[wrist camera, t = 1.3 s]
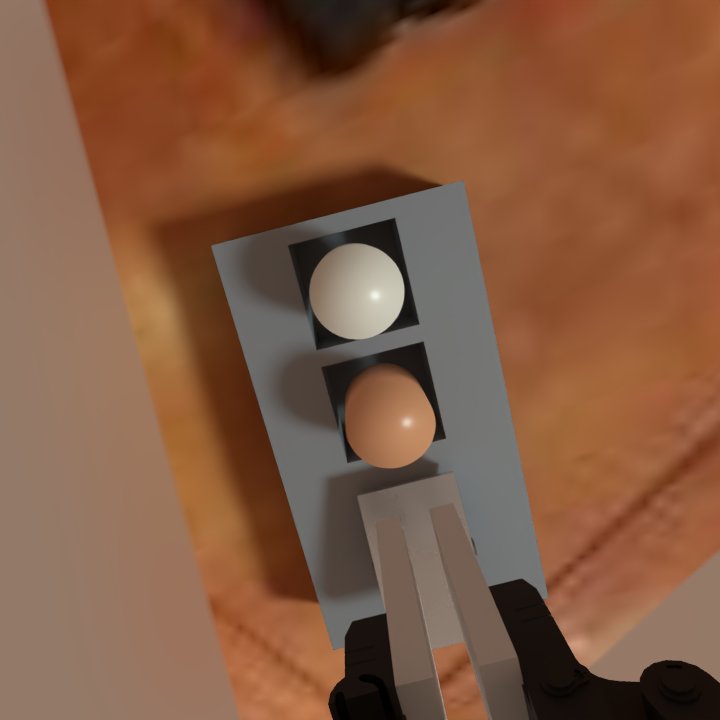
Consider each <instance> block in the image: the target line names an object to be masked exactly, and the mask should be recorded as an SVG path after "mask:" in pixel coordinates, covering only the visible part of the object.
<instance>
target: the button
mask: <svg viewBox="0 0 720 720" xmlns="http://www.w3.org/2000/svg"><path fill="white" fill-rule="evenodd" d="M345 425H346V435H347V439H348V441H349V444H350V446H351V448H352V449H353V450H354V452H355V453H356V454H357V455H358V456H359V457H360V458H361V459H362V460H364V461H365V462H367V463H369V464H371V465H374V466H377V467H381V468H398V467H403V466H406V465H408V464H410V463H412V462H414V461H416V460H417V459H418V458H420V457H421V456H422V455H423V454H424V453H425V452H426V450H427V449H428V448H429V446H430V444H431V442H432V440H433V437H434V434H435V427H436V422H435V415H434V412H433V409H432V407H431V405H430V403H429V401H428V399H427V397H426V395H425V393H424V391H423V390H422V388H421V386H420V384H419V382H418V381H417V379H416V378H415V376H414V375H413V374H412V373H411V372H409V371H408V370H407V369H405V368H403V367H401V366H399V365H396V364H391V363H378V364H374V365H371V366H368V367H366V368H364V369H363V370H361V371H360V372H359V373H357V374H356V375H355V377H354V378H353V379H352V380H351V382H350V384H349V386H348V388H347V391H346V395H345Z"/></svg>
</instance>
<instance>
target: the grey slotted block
mask: <svg viewBox="0 0 720 720" xmlns="http://www.w3.org/2000/svg"><path fill="white" fill-rule="evenodd" d="M348 243H361V244H366V245H369V246H372V247H374V248H377V249H379V250H381V251H382V252H384V253H385V254H387V255H388V256H389V257H390V258H391V259H392V260H393V261H394V263H395V264H396V265H397V267H398V269H399V271H400V273H401V275H402V279H403V283H404V301H403V305H402V308H401V311H400V313H399V315H398V317H397V318H396V319H395V321H394V322H393V323H392V324H391V325H390V326H389V327H388V328H387V329H386V330H385V331H383V332H381V333H380V334H378V335H376V336H373V337H370V338H366V339H348V338H343V337H340V336H338V335H336V334H334V333H332V332H331V331H329V330H328V329H327V328H325V327H324V326H323V325H322V324H321V322H320V321H319V320H318V318H317V317H316V315H315V313H314V311H313V309H312V306H311V302H310V295H309V289H310V282H311V278H312V275H313V273H314V270H315V268H316V267H317V265H318V264H319V262H320V261H321V260H322V259H323V258H324V256H325V255H326V254H327V253H329V252H330V251H331V250H333V249H334V248H336V247H338V246H341V245H344V244H348ZM211 247H212V251H213V254H214V257H215V261H216V264H217V267H218V271H219V274H220V277H221V280H222V284H223V287H224V290H225V294H226V297H227V300H228V304H229V307H230V310H231V314H232V317H233V320H234V323H235V327H236V330H237V333H238V337H239V340H240V343H241V347H242V350H243V353H244V356H245V360H246V363H247V366H248V370H249V373H250V376H251V380H252V383H253V386H254V390H255V393H256V396H257V399H258V403H259V406H260V409H261V413H262V416H263V419H264V423H265V426H266V429H267V432H268V436H269V439H270V442H271V446H272V449H273V452H274V456H275V459H276V462H277V466H278V469H279V472H280V475H281V479H282V482H283V485H284V489H285V492H286V495H287V499H288V502H289V505H290V508H291V512H292V515H293V518H294V522H295V525H296V528H297V532H298V535H299V538H300V541H301V545H302V548H303V551H304V555H305V558H306V561H307V565H308V568H309V571H310V575H311V578H312V581H313V584H314V588H315V591H316V594H317V598H318V601H319V604H320V608H321V611H322V614H323V617H324V621H325V624H326V627H327V631H328V634H329V637H330V641H331V644H332V647H333V650H335V649H340V648H344V647H345V635H346V633H347V631H348V629H349V627H350V625H351V623H352V621H355V620H359V619H363V618H368V617H372V616H376V615H380V614H384V613H386V612H385V608H384V604H383V600H382V596H381V592H380V588H379V584H378V580H375V577H374V574H373V569H372V563H371V562H373V559H372V555H371V551H370V547H369V543H368V539H367V535H366V531H365V526H364V522H363V518H362V514H361V510H360V506H359V502H358V498H357V495H358V493H361V492H365V491H369V490H373V489H377V488H381V487H385V486H389V485H393V484H397V483H401V482H405V481H409V480H413V479H417V478H421V477H426V476H430V475H434V474H438V473H442V472H446V471H450V470H452V471H453V472H454V476H455V480H456V484H457V487H458V491H459V495H460V499H461V503H462V506H463V510H464V514H465V518H466V522H467V525H468V529H469V533H470V537H471V538H473V540H474V543H475V546H476V550H477V555H476V559H477V561H478V564H479V566H480V569H481V571H482V573H483V576H484V578H485V580H486V583H487V585H488V587H489V586H493V585H497V584H501V583H505V582H509V581H513V580H517V579H524V580H525V581H527V582H528V583H529V584H531V585H532V586H534V587H535V588H537V590H538V592H539V594H540V595H541V597H542V599H545V598H548V594H547V589H546V584H545V579H544V574H543V569H542V564H541V559H540V554H539V549H538V545H537V540H536V535H535V530H534V525H533V520H532V515H531V510H530V505H529V500H528V495H527V490H526V485H525V480H524V476H523V471H522V466H521V461H520V456H519V451H518V446H517V441H516V436H515V431H514V426H513V421H512V416H511V411H510V407H509V402H508V397H507V392H506V387H505V382H504V377H503V372H502V367H501V362H500V357H499V352H498V347H497V343H496V338H495V333H494V328H493V323H492V318H491V313H490V308H489V303H488V298H487V293H486V288H485V283H484V278H483V274H482V269H481V264H480V259H479V254H478V249H477V244H476V239H475V234H474V229H473V224H472V219H471V214H470V210H469V205H468V200H467V195H466V190H465V185H464V180H462V181H459V182H455V183H451V184H447V185H443V186H439V187H435V188H432V189H428V190H424V191H420V192H416V193H412V194H408V195H404V196H401V197H397V198H393V199H389V200H385V201H381V202H377V203H374V204H370V205H366V206H362V207H358V208H354V209H350V210H346V211H343V212H339V213H335V214H331V215H327V216H323V217H319V218H316V219H312V220H308V221H304V222H300V223H296V224H292V225H289V226H285V227H281V228H277V229H273V230H269V231H265V232H261V233H258V234H254V235H250V236H246V237H242V238H238V239H234V240H231V241H227V242H223V243H219V244H215V245H211ZM378 363H391V364H396V365H399V366H401V367H403V368H405V369H407V370H408V371H409V372H411V373H412V374H413V375H414V376H415V378H416V379H417V381H418V382H419V384H420V386H421V388H422V390H423V391H424V393H425V395H426V397H427V399H428V401H429V403H430V405H431V407H432V409H433V412H434V415H435V422H436V427H435V434H434V437H433V440H432V442H431V444H430V446H429V448H428V449H427V450H426V452H425V453H424V454H423V455H422V456H421V457H420V458H418V459H417V460H416V461H414V462H412V463H410V464H408V465H406V466H403V467H398V468H381V467H377V466H374V465H371V464H369V463H367V462H365V461H364V460H362V459H361V458H360V457H359V456H358V455H357V454H356V453H355V452H354V450H353V449H352V448H351V446H350V444H349V441H348V439H347V435H346V425H345V395H346V391H347V388H348V386H349V384H350V382H351V380H352V379H353V378H354V377H355V375H356V374H357V373H359V372H360V371H361V370H363V369H364V368H366V367H368V366H371V365H374V364H378Z"/></svg>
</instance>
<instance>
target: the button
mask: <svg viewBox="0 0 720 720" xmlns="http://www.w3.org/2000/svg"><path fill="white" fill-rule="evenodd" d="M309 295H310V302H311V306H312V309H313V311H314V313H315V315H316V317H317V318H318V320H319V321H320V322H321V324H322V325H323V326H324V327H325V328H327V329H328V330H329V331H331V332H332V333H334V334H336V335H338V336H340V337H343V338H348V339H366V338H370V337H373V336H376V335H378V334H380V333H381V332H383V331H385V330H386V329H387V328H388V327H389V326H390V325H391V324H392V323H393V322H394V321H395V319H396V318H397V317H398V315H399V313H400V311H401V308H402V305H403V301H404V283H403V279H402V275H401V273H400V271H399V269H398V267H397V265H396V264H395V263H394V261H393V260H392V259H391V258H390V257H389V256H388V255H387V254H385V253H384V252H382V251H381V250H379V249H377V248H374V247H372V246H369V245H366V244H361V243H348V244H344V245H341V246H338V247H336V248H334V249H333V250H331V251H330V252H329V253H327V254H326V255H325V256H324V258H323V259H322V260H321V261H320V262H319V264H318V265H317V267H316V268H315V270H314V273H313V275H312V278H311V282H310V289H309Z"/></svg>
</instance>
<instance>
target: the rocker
mask: <svg viewBox="0 0 720 720" xmlns="http://www.w3.org/2000/svg"><path fill="white" fill-rule="evenodd" d="M357 498H358V502H359V506H360V510H361V514H362V518H363V522H364V526H365V531H366V535H367V539H368V543H369V547H370V551H371V555H372V559H373V562H371V563H372V569H373V574H374V577H375V580H378V584H379V588H380V592H381V596H382V600H383V604H384V608H385V612H386V607H385V598H384V590H383V582H382V574H381V565H380V557H379V549H378V541H377V532H376V524H375V522H377V521H381V520H385V519H389V518H393V517H397V516H399V517H400V521H401V525H402V528H403V532H404V536H405V540H406V544H407V548H408V552H409V556H410V559H411V563H412V567H413V571H414V575H415V579H416V583H417V587H418V590H419V595H420V599H421V604H422V608H423V613H424V617H425V622H426V626H427V631H428V635H429V640H430V645H431V649H432V650H433V649H437V648H441V647H445V646H449V645H453V644H457V643H462V642H465V641H464V638H463V635H462V631H461V628H460V625H459V621H458V618H457V615H456V612H455V608H454V605H453V602H452V599H451V595H450V592H449V589H448V585H447V581H446V577H445V573H444V569H443V565H442V561H441V557H440V553H439V549H438V545H437V541H436V537H435V532H434V528H433V524H432V520H431V516H430V512H429V508H433V507H437V506H441V505H446V504H450V503H453V504H454V507H455V509H456V511H457V514H458V516H459V519H460V521H461V523H462V526H463V528H464V530H465V533H466V535H467V538H468V540H469V542H470V545H471V547H472V550H473V552H474V554H475V557H476V555H477V550H476V546H475V543H474V540H473V538H471V537H470V533H469V529H468V525H467V522H466V518H465V514H464V510H463V506H462V503H461V499H460V495H459V491H458V487H457V484H456V480H455V476H454V472H453V471H452V470H450V471H446V472H442V473H438V474H434V475H430V476H426V477H421V478H417V479H413V480H409V481H405V482H401V483H397V484H393V485H389V486H385V487H381V488H377V489H373V490H369V491H365V492H361V493H358V495H357Z"/></svg>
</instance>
